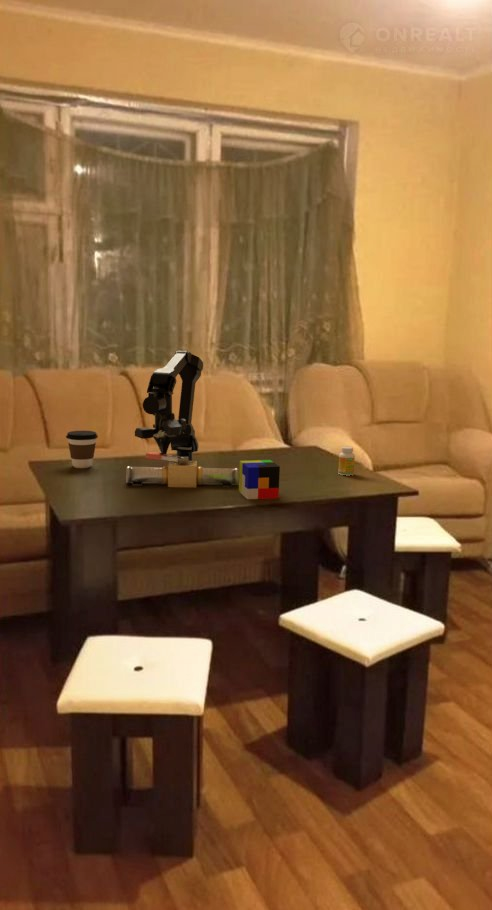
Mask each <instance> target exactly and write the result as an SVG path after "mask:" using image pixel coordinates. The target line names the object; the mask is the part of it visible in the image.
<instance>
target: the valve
mask: <svg viewBox="0 0 492 910" xmlns="http://www.w3.org/2000/svg"><path fill="white" fill-rule="evenodd" d="M125 468H126V469H125V481H126V483H127V484H130V483H132V484H131V486H132V487H133V486H134V487H142V486H143V483H146V484H147V483H149V484H150V483H154V484H155V483H156V484H157V483H158V484H159V483H161V484H162V485H167V488H197V486H203V484H209V485H210V484H215V485H216V484H219V485H220V484H221V485H222V488H232V487H233V486H234V485H236V486H237V485H238V486H239V467H233V468H227V467H225V468H221V467H220V468H218V467H213V468H212V467H203V466H202V465H201V466H198V461H197V460H193V461H188V462H187V463H178V462H175V461H169V462H168V464H167V465H162V467H161V466H159V467H157V466H131V465H127V466H126V467H125Z"/></svg>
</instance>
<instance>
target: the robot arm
mask: <svg viewBox="0 0 492 910" xmlns="http://www.w3.org/2000/svg"><path fill="white" fill-rule="evenodd" d="M203 370H204V361H203V360H202V359H201V358H200V357H199V356H197V355H195V354H193V353H192V352H190V351H189V350H176V351H175V353H174V355H173V356H172V357H171V359H170V360H169V361H168V363H167V364H166V365H165V366H164V367H160V368H157V369H156V370H155V371H153V373H152V374H151V375H150V377H149V382H148V387H147V390H146V393H147V394H148V395H147V397H145V398H144V400H143V401H142V409H143V411H144V412H145V413H146V414H147V415H152V416H154V424H152V428H150V427H147V426H141V427H136V429H135V430H134V436H135V437H136V438H140V439H141V440H142V439H143V440H147V439H154V441H155V443H156V445H157V447H158V449H159V451H160V453H166V454H167V452H168V450H169V447H170V449H171V451H176V456H186V457H188V461H194V460H193V455H194V453H196V452H199V442H198V440H197V437H196V435H195V434H196V431H195V429H194V426H193V424H192V420H193V410H194V400H195V391H196V390H195V389H196V383H197V381H198V380H199V379H200V378H201V376H202V372H203ZM178 375H179V376H180V379H181V382H182V383H181V387H180V388H181V389H180V390H181V391H180V398H179V399H180V400H179V408H178V409H179V410H178V418H177V419H176V415H175V412H173V395H174V389H175V387H176V384H177V376H178Z"/></svg>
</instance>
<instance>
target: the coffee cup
mask: <svg viewBox="0 0 492 910" xmlns="http://www.w3.org/2000/svg"><path fill="white" fill-rule="evenodd" d="M66 434H67V435H66V436H65V438H66V439H67V440H68V448H69V455H70V458H71V463H72V466H73V468H76V469H88V468H91V467H92V465H93V460H94V457H95V450H96V444H97V442H96V440H97V439H98V437H99V435H98V434H97V432H96V431H92V430H71V431H68V432H67V433H66Z"/></svg>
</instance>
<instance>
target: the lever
mask: <svg viewBox="0 0 492 910" xmlns="http://www.w3.org/2000/svg"><path fill="white" fill-rule="evenodd" d="M145 458H146V459H151V460H157V461H163V460H164V461H175V462H178V463H187V462H188V457H186V456H177V455H173V454H167V453H161V452H158V451H149V452H145Z"/></svg>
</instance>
